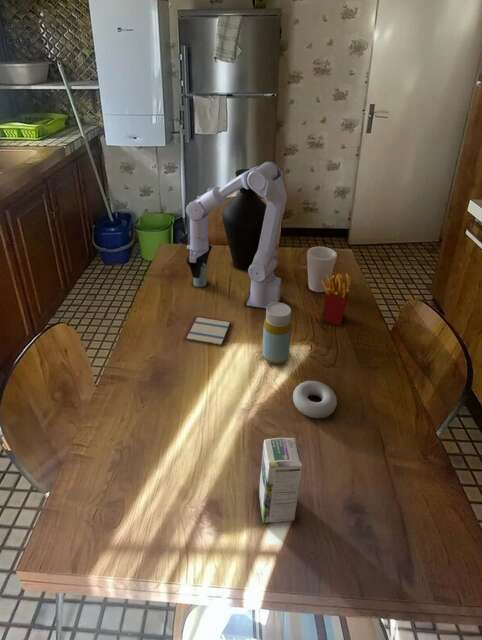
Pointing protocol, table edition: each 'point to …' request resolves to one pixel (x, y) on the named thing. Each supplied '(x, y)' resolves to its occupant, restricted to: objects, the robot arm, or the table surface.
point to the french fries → (335, 298)
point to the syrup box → (279, 479)
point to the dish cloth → (208, 330)
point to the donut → (314, 408)
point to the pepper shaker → (201, 277)
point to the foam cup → (319, 267)
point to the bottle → (276, 333)
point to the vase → (244, 225)
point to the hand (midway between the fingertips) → (199, 271)
